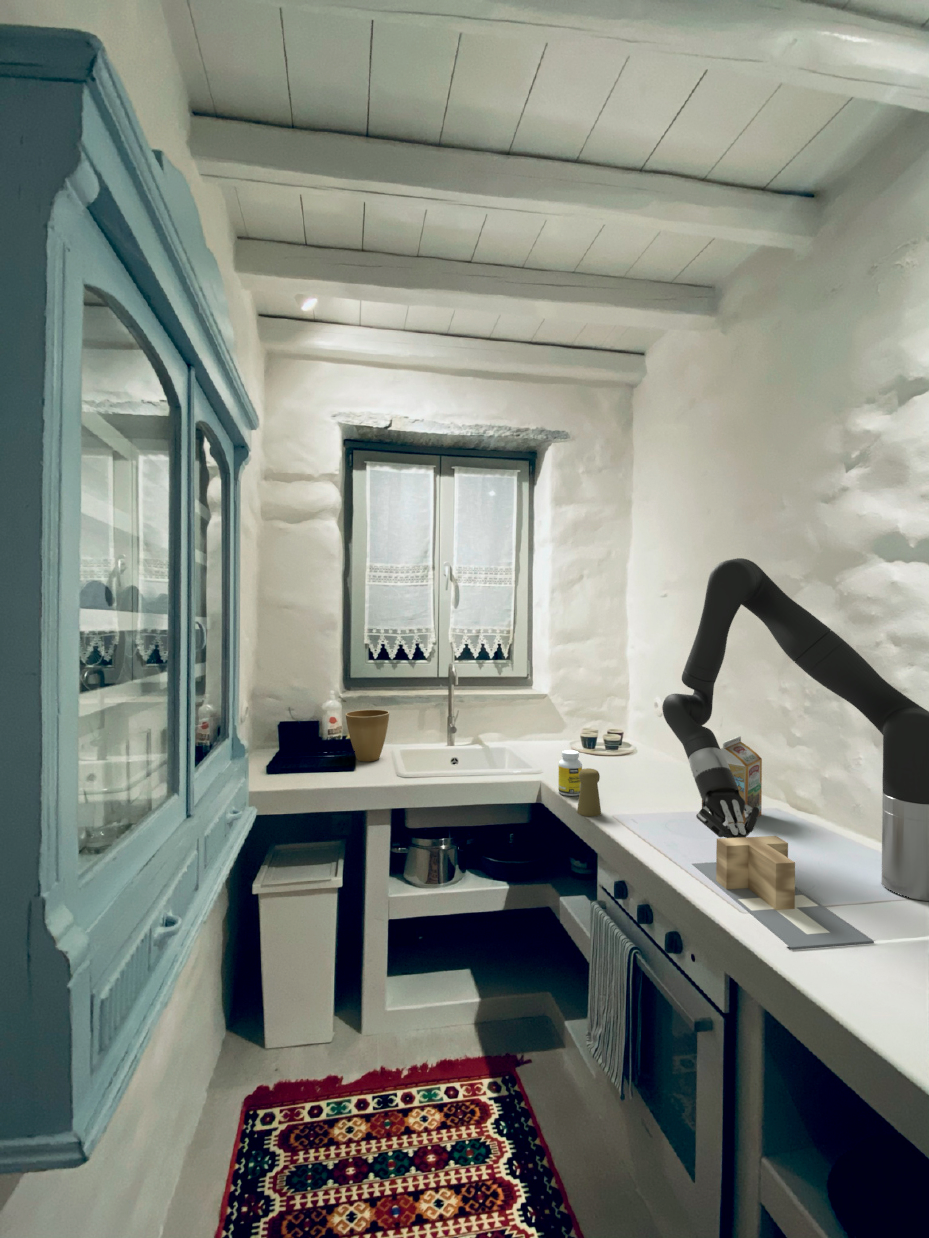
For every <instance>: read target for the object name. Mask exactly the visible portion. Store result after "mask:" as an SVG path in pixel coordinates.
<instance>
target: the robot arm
mask: <svg viewBox="0 0 929 1238" xmlns="http://www.w3.org/2000/svg"><path fill="white" fill-rule="evenodd" d="M703 602H704V603H703V609H702V613H701V617H700V620H699V624H698V629H697V632H696V635H695V638H694V641H693V644H692V647H691V649H690V653H689V655H688V656H687V661H686V663H685V665H684V669H683V671H682V675H681V682H682V683H683V684H684V686H686V687H687V688H689V689H691V690H693V694H685V693H671V694H669V695H667V696H666V697H665V698H664V700H663V703H662V714H663V718H664V720H665V722H666V724H667V725H668V727H669V728H670V730H672V732H673V734H674V735H675V737H676V738H677V739H678V740H679V742H680V743H681V745H682V746H683V748H684V752H685V755H686V757H687V760H688V763H689V768H690V771H691V774H692V777H693V779H694V782H695V784H696V787H697V790H698V793H699V795H700V798H701V801H702V800H703V807H704V808H703V809H702V808H701V809H699V811H698V813H696V819H697V820H698V821H700V822H701V823H702V825H704V826H705V827H707V828H708V829H709V830H710V831H712V833H714V834H715V835H716V836H717V837H718V838H741V837H749V834H751V833H752V832H753V831H754V829H755V825H756V822H757V820H758V817H759V816H758V814H759V809H758V808H757V807H754V808H752V807H750V806H748V805H746V804H745V801H744V799H743V798H742V797H741V796H740V794H739V789H738V786H737V784H736V781H735V779H734V777H733V774H732V772H731V770H730V767H729V765H728V763H727V760H726V758H725V757H724V755H723V754H722V752H721V747H720V745H719V742H718V740H717V738H716V736H715V733H714V731H712V730H711V729H710V728H708V727H706V726H704V725H705V724H706V723H708V722H709V721H710V719H711V716H712V713H713V702H714V701H713V699H714V690H715V689H714V688H715V685H716V684H715V683H716V680H717V679H718V676H719V673H720V670H721V668H722V665H723V662H724V659H725V656H726V655H725V654H726V651H727V650H726V649H727V642H728V636H729V631H730V629H731V626H732V623H733V621H734V618H735V616H736V615H737V613H738V611H739V609H740V607H741V606H743V607H744V608H745V609H747V610H749V611H750V612H751V613H752V614H753V615H754V616H756V617H757V618H758V619H759V620H760V621H761V622H762V623H763V624H764V625H765V626H766V628H767V629H768V630H769V632H770V633H771V635H772V637H773V638H774V640H775V641H776V643H777V644H778V646H779V647H780V648H781V649H782V650H783V653H785V655H787V657H788V658H790V659H791V660H792V662H793V663H795V664H796V665H797V666H798V667H799V668H800V669H801V670H802V671H803V672H805V673H806V674H807V675H808V677H810V678H812V679H813V680H815V681H816V682H818V683H819V684H820V685H822V686H823V687H825V688H826V689H827V690H829V691H831V692H832V693H833V694H835V695H837V696H838V697H840V698H841V699H844V700H845V701H847V702H848V703H849V704H851V705H852V706H853V707H854V708H856V709H857V710H858V711H859V712H860V713H861V714H862V715H863V716H864V717H865V718H866V719H867V720H868V721H869V722H870V723H871V724H872V725H873V726H874V727H875V728H876V729H877V730H878V731H879V733H880V734H881V735H882V781H881V782H882V794H881V795H882V796H881V797H882V799H881V801H882V804H881V805H882V806H881V808H882V809H881V811H882V815H881V820H882V822H881V885H882V886H883V885H884V886H885V887H886V888H885V887H884V886H883V887H884V888H885V889H887V890H888V889H889V890H888V891H890V890H892V891H893V892H892V891H891V892H892V893H894V892H895V893H894V894H896V893H899V894H901V895H900V896H902V895H904V896H903V897H905V896H907V897H906V898H908V897H909V898H908V899H912V900H917V901H918V900H919V901H923V902H924V901H925V902H927V901H928V902H929V710H927V709H926V708H924V707H922V706H920V705H919V704H918V703H917V702H915V701H913V700H912V699H911V698H909V697H908V696H906V695H904V693H902V692H901V691H899V690H898V689H897V688H895V687H894V686H892V685H891V684H890V683H888V682H887V680H885V679H884V678H883V677H882V676H881V675H880V674H879V673H878V672H877V671H876V670H875V669H874V668H873V667H872V665H871V664H869V662H868V661H866V660H865V658H863V657H862V655H861V654H860V653H858V652H857V651H856V650H855V649H854V648H853V647H852V646H851V645H850V644H849V643H848V642H847V641H845V640H844V639H843V638H842V637H841V636H840V635H838V634H837V633H836V632H835V631H833V630H832V628H830V627H828V626H827V625H826V624H825V623H823V622H822V621H821V620H820V619H818V618H817V617H816V616H814V614H812V613H811V612H810V611H808V610H807V609H805V608H804V607H803V606H802V605H800V604H799V603H797V602H796V601H794V600H793V599H792V598H790V596H788V595H787V594H786V593H785V592H784V591H783V590H782V589H781V588H780V587H779V586H778V585H777V584H776V583H775V581H773V580H772V579H771V578H770V577H769V576H768V575H767V574H766V572H765V571H764V570H763V569H762V568H761V567H760V566H759V565H757V564H756V563H755V562H754V561H752V560H750V559H748V558H747V559H746V558H740V557H739V558H738V557H737V558H732V559H728V560H727V559H726V560H725V561H722V562H719V563H718V564H716V565H715V566H714V567H713V569H712V570H711V571H710V573H709V577H708V580H707V586H706V592H705V597H704V601H703ZM743 812H745V817H746V821H745V824H744V825H743V818H742V815H743ZM899 894H898V895H899Z"/></svg>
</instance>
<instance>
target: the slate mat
mask: <svg viewBox="0 0 929 1238" xmlns="http://www.w3.org/2000/svg"><path fill="white" fill-rule="evenodd" d="M691 865H692V866H693V867H694V868H695V869H696V870H698V871H699V872H700V873H702V875H704V876H705V877H706V878H707V879H709V880H710V881H711V882H712V883H714V885H716V887H718V888H719V889H720V890H721V891H723V892H724V893H725V894H726V895H727V896H729V898H731V899H732V900H733V901H735V902H736V903H737V904H738V905H739V906H740V907H742V908H743V909H744V910H746V912H748V914H750V915H751V916H753V918H755V919H756V920H757V921H758V922H759V923H761V924H762V925H763V927H765V928H767V929H768V930H769V931H770V932H771V933H772V934H774V935H775V937H777V938H778V939H779V940H780V941H782V942H783V944H786V945H787V946H786V948H787V949H789V950H790V951H792V950H793V951H794V950H805V949H807V950H808V949H819V948H831V947H840V946H854V945H857V946H858V945H868V944H869V945H870V944H874V943H875V940H873V939H872V938H871V937H869V936H868V935H866V934H864V933H863V932H862V931H861V930H859V929H857V928H856V927H855V926H853V925H852V924H850V923H849V922H847V921H846V920H844V919H843V918H841V917H840V916H839V915H837V914H836V913H834V912H833V911H831V910H830V909H829V908H827V907H826V906H824V905H823V904H821V903H820V902H818V901H817V900H815V899H814V898H812V897H811V896H809V895H808V894H807V893H805V892H803V890H801V889H800V888H798V887H796V886H795V909H783V910H775V909H774V908H772V907H771V906H770V905H769V904H767V903H766V902H765V901H764V900H762V899H761V898H760V897H759V896H757V895H756V894H755V893H754V892H752V891H751V890H750V889H749V888H741V889H725V888H724V887H723V886H722V885H721V884H720V883H718V882H717V881H716V861H715V862H714V861H713V862H700V863H699V862H697V863H691Z"/></svg>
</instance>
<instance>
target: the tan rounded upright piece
mask: <svg viewBox="0 0 929 1238" xmlns="http://www.w3.org/2000/svg"><path fill="white" fill-rule="evenodd" d="M600 777H601V776H600V772H599V771H598V769H595V768H589V767H588V768H582V770H581V771H580V772H579V780H580V781H581V787H580V794H579V795H578V802H577V803H578V804H577V809H576V811H577V812H576V813H577V814H578V815H580V816H583V817H590V818H591V817H598V816H601V815H602V809H601V808H602V807H601V800H600V793H599V786H598V783H599V782H600V779H601V778H600Z"/></svg>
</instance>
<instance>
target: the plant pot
mask: <svg viewBox="0 0 929 1238" xmlns="http://www.w3.org/2000/svg"><path fill="white" fill-rule="evenodd" d="M345 720H346V725H347V732H348V735H349V739H350V742H351V746H352V749H353V752H354V751H355V752H354V755H355V757H356V759H357V761H360V762H367V763H368V762H374V761H378V760H379V759H380V757H381V754H382V752H383V748H384V744H385V741H386V738H387V732H388V728H389V727H388V726H389V722H390V721H389V720H390V711H388V710H385V709H384V710H382V709H360V710H354V711H353V710H352V711H349V712H346V713H345Z"/></svg>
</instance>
